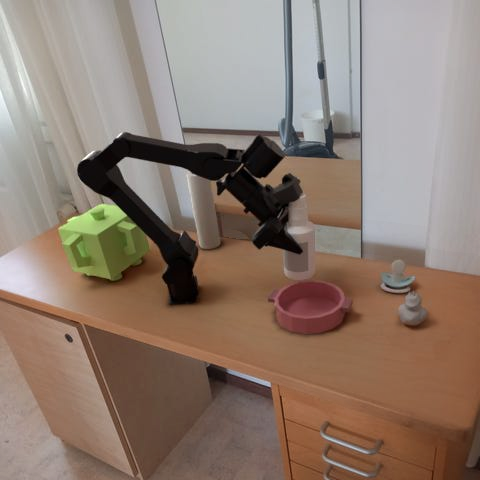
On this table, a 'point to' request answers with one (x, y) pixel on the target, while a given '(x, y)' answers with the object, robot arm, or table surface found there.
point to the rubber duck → (412, 310)
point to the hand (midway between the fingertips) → (305, 245)
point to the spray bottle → (300, 241)
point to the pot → (310, 306)
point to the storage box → (103, 242)
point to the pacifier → (396, 278)
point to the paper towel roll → (204, 211)
